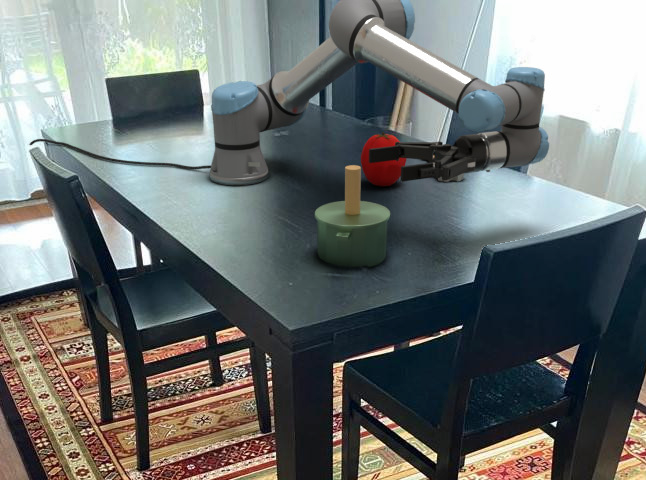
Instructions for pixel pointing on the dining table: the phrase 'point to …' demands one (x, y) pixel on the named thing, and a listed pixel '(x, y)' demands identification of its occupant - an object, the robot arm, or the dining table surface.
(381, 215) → the lid
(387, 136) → the tomato
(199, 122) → the dining table surface
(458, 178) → the egg carton
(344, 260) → the pot
